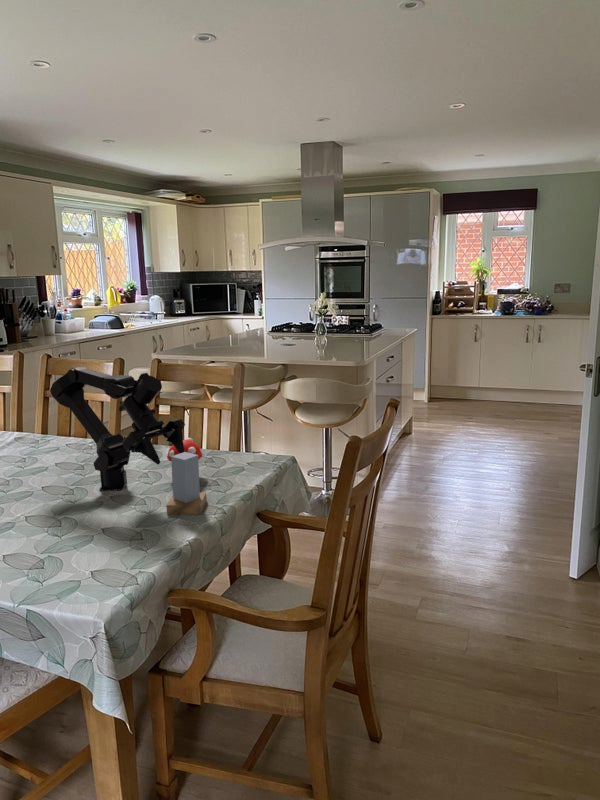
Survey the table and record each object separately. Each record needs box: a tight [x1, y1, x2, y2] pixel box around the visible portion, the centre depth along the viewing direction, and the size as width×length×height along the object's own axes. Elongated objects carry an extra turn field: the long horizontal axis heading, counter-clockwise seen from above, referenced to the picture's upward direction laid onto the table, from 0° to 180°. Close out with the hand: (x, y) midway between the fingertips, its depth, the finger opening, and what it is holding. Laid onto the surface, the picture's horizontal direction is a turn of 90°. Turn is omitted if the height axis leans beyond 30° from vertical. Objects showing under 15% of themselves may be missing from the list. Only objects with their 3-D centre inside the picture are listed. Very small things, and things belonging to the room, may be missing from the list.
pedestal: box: [166, 491, 208, 515], centre depth 162 cm, size 9×9×3 cm
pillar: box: [170, 452, 201, 503], centre depth 160 cm, size 5×5×12 cm
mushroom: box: [166, 437, 203, 462], centre depth 184 cm, size 11×11×12 cm
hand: (171, 458), depth 162 cm, fingers open, 9 cm apart
